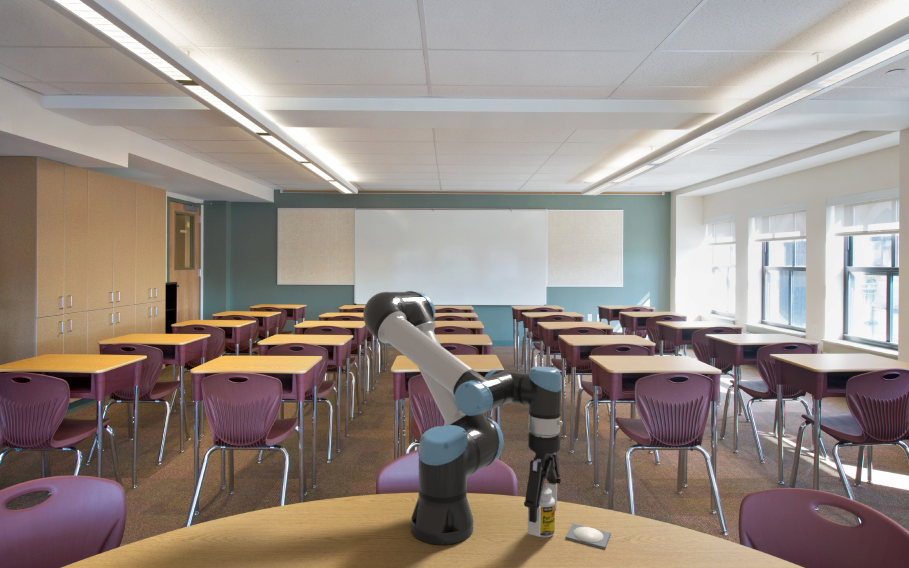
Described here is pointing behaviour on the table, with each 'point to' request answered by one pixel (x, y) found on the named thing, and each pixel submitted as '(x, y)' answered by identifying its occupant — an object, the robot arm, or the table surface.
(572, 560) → the table surface
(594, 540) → the seat plate
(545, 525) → the supplement bottle
